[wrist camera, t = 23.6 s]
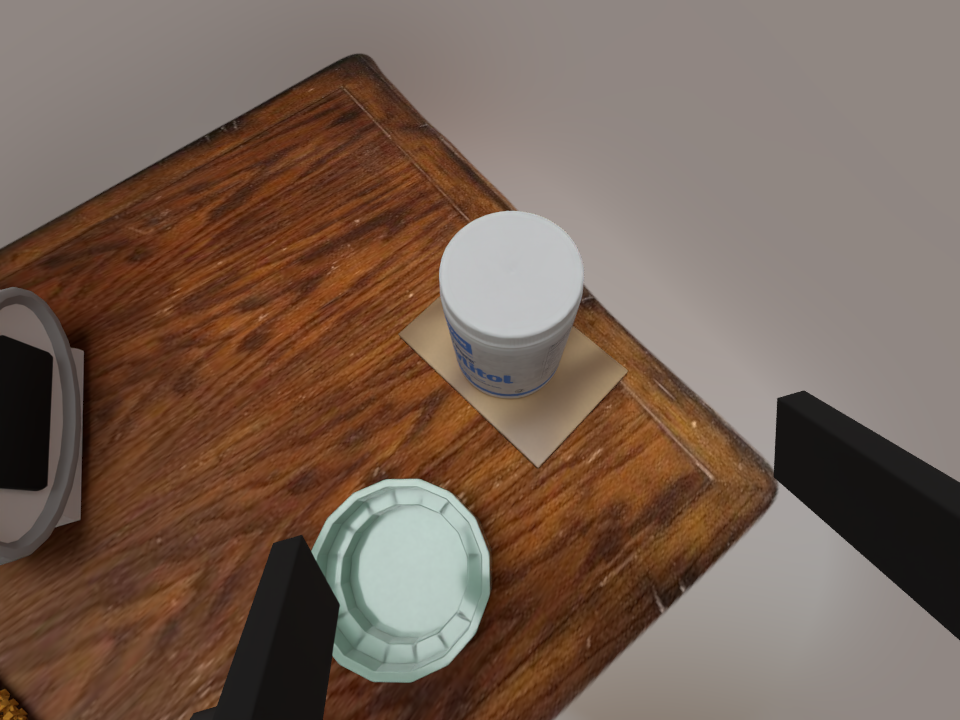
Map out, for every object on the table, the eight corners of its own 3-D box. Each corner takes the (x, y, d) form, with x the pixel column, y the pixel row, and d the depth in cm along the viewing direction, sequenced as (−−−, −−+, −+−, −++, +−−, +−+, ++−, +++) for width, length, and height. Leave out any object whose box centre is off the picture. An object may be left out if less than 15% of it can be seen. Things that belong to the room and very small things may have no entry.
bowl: (526, 568, 37) (528, 573, 33) (405, 704, 35) (389, 732, 30) (416, 452, 41) (404, 443, 36) (299, 568, 38) (270, 573, 34)
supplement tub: (440, 378, 43) (407, 306, 29) (482, 292, 45) (469, 189, 32) (540, 418, 41) (555, 362, 27) (576, 326, 44) (607, 232, 30)
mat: (627, 372, 42) (628, 370, 42) (537, 469, 40) (538, 468, 39) (486, 257, 47) (485, 254, 47) (399, 336, 45) (397, 334, 44)
